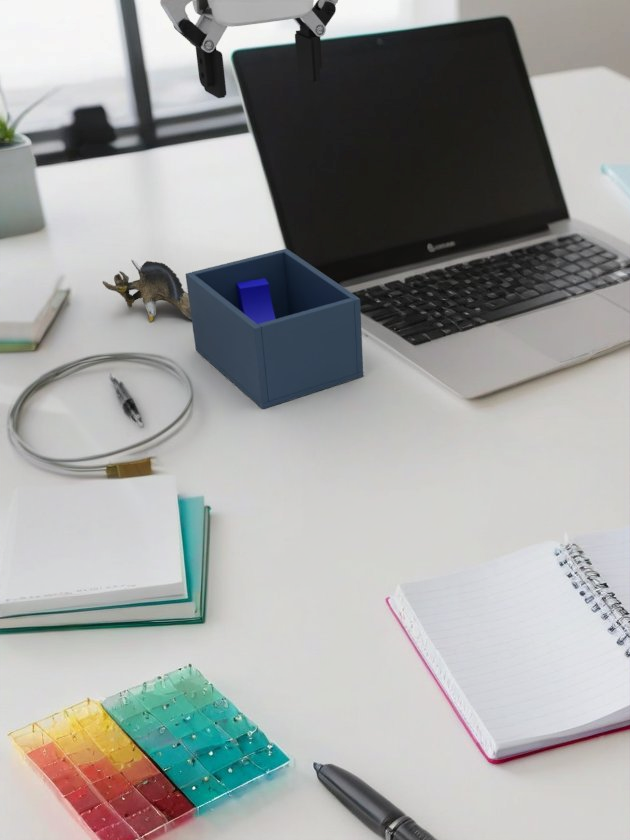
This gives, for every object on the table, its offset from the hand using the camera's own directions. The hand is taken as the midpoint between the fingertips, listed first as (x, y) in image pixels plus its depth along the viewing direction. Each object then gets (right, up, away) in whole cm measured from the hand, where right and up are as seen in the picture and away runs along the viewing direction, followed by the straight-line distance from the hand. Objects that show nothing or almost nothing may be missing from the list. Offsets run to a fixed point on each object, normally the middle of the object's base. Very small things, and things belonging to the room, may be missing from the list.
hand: (263, 86), depth 107 cm
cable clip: (-1, -24, +11) cm, 26 cm away
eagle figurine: (-15, -18, +20) cm, 31 cm away
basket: (-1, -24, +11) cm, 27 cm away
